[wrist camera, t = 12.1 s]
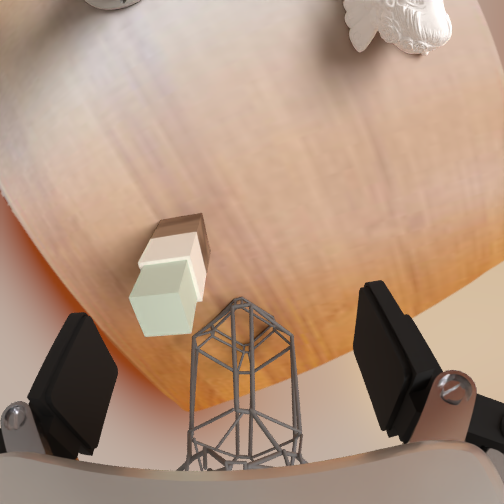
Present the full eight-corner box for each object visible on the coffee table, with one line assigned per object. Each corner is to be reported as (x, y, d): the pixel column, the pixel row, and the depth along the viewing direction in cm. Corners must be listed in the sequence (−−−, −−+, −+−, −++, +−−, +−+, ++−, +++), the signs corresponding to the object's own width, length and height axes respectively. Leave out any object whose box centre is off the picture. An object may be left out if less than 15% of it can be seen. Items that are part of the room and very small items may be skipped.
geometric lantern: (307, 319, 54) (350, 523, 23) (244, 365, 59) (249, 545, 29) (237, 267, 48) (237, 515, 18) (176, 324, 54) (142, 527, 23)
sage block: (143, 265, 34) (128, 297, 29) (187, 259, 34) (178, 292, 29) (156, 302, 36) (145, 336, 31) (197, 297, 36) (191, 333, 31)
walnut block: (161, 219, 44) (150, 238, 39) (202, 213, 44) (197, 231, 39) (171, 256, 47) (163, 278, 42) (210, 251, 47) (206, 272, 42)
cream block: (150, 238, 39) (137, 262, 34) (196, 231, 39) (189, 255, 34) (162, 279, 42) (153, 306, 37) (206, 273, 42) (202, 301, 36)
